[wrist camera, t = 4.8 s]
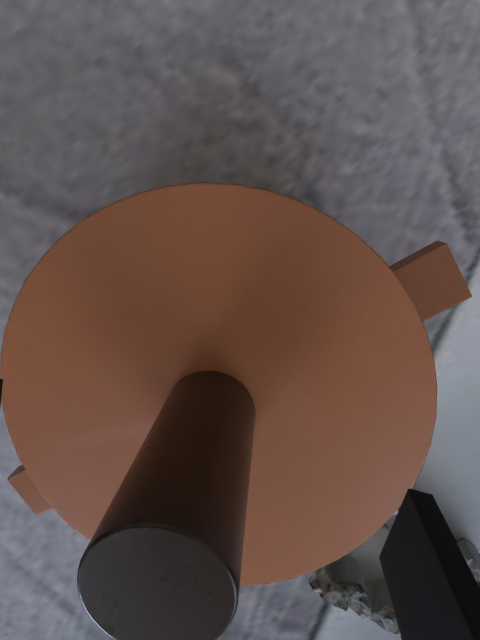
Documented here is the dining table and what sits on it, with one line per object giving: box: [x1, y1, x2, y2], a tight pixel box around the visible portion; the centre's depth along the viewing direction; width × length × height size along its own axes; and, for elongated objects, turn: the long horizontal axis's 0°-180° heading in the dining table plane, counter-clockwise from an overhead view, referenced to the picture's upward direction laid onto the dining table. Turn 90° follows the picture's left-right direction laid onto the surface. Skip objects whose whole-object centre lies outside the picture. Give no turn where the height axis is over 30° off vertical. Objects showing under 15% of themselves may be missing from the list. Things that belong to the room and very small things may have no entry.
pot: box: [8, 241, 472, 516], centre depth 23 cm, size 17×22×8 cm
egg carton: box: [309, 507, 480, 635], centre depth 28 cm, size 11×8×4 cm
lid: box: [0, 183, 437, 640], centre depth 14 cm, size 18×18×10 cm
